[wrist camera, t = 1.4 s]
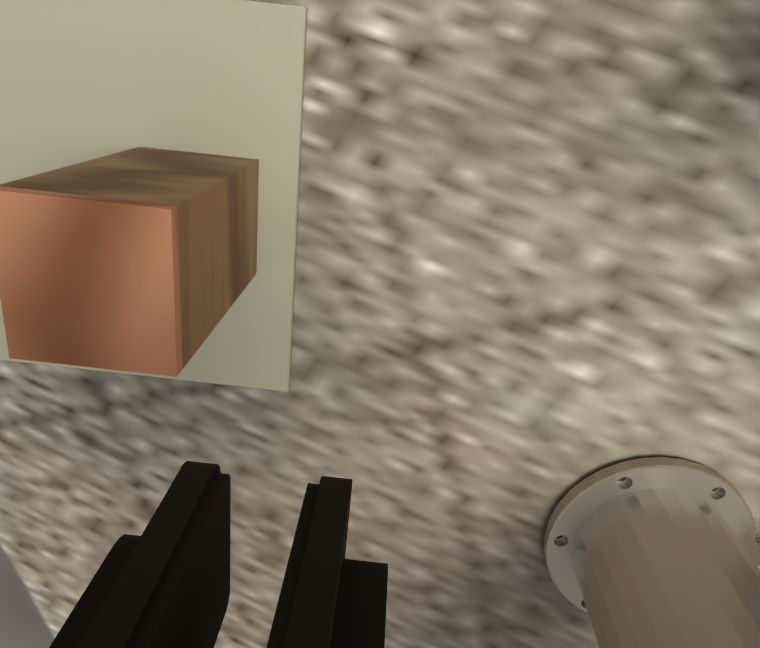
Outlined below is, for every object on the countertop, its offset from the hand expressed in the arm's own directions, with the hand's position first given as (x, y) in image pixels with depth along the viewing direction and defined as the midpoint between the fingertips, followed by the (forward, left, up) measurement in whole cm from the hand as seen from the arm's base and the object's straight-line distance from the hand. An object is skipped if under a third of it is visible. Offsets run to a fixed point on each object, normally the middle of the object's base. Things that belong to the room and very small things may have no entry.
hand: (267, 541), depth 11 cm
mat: (+14, 0, -23) cm, 27 cm away
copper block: (+9, 0, -23) cm, 24 cm away
